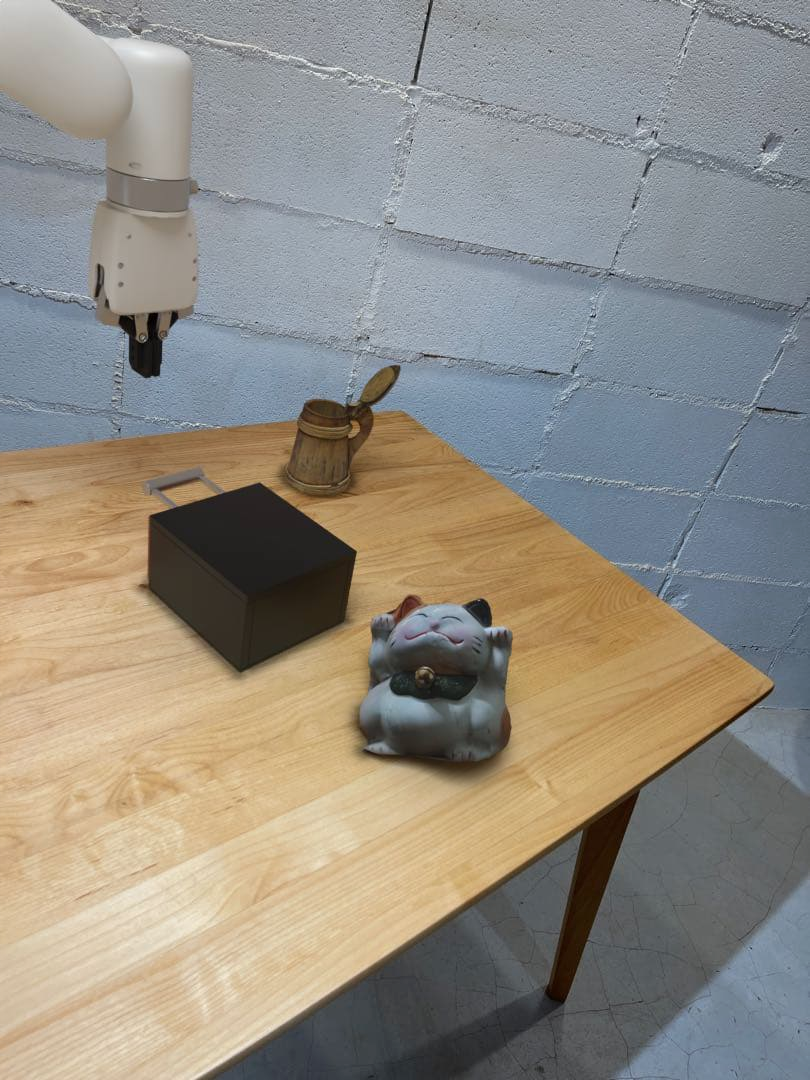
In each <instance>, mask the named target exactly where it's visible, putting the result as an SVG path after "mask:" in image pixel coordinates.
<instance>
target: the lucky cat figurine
mask: <svg viewBox="0 0 810 1080" xmlns="http://www.w3.org/2000/svg"><path fill="white" fill-rule="evenodd" d="M492 625H493V616H492V610H491V606H490V604H489V601H487V600H486V599H485V598H482V597H479V598H477V599H474V600H471V601H467V602H466V603H463V604H459V603H455V602H442V603H437V602H436V603H434V602H433V603H429V604H427V603H425V602H424V601H423V600H422V598H421V596H418V595H415V594H411V593H409V594H406V596H405V597H404V599H403V600H402V601H401V602H400V603H399V604H398V606H397V607H396V608H394V609H392V610H390V611H387V612H384V613H381V614H380V615H375V616H373V617H372V618H371V619H370V625H369V628H370V634H371V645H370V647H369V652H368V656H369V657H368V661H367V664H368V667H369V685H368V692H367V695H366V696H365V697H364V698H363V700H362V702H361V704H360V707H359V710H358V711H359V712H358V714H359V718H358V721H359V723H358V727H359V728H360V730H361V732H362V734H363V735H364V737H365V739H367V742H368V743H367V745H365V746H363V747H362V749H363V750H366V751H369V752H372V753H374V754H377V755H391V756H392V755H393V756H394V755H401V756H402V755H404V756H412V757H420V758H424V759H425V758H426V759H433V760H439V761H445V762H453V763H457V762H476V763H478V762H480V761H484V760H487V759H491V757H493V756H495V755H498V754H499V753H501V752H502V751H503V750H504V749H505V748H507V746H508V744H509V742H510V739H511V734H512V722H511V721H512V719H511V715H510V712H509V708H508V707H507V703H506V692H507V691H506V690H507V689H506V686H507V681H508V672H509V671H508V670H509V663H510V657H511V656H512V650H513V647H512V646H513V639H514V636H513V634H514V633H513V631H512V630H510V628H509V627H506V626H504V625H501V626H497V625H495V626H492Z"/></svg>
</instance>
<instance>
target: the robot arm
mask: <svg viewBox="0 0 810 1080" xmlns="http://www.w3.org/2000/svg"><path fill="white" fill-rule="evenodd" d="M194 72H195V71H194V65H193V61H192V59H191V58H190V56H189V55H188V53H186V52H185V51H183V50H182V49H180V48H177V47H175V46H172V45H169V44H165V43H160V42H156V41H151V40H145V39H140V38H134V37H133V38H132V37H118V38H112V37H108V36H103V35H100V34H95V32H93V31H92V30H91V29H89V28H88V27H86V26H85V25H84V24H83V23H81V22H80V21H78V20H77V19H76V18H75V17H73V16H72V15H71V14H70V13H68V12H67V11H65V10H64V9H62V8H61V7H60V6H59V5H57V4H56V3H55V2H53V1H52V0H0V92H1V93H3V94H4V95H6V96H8V97H9V98H11V99H12V100H14V101H15V102H17V103H19V105H22V106H23V107H25V108H26V109H28V110H29V111H31V112H32V113H34V114H36V115H37V116H38V117H40V118H42V119H43V120H45V121H46V122H48V123H49V124H51V125H53V127H55V128H57V129H58V130H60V132H63V133H65V134H67V135H68V136H70V137H72V138H76V139H79V140H83V141H85V140H86V141H98V140H103V139H105V184H106V185H105V187H106V188H105V191H106V193H105V194H106V195H105V199H106V200H98V201H97V204H96V207H95V213H94V217H93V222H92V228H91V234H90V235H91V236H90V245H89V258H88V295H89V297H90V299H92V300H93V301H94V302H96V308H95V312H94V319H95V320H96V321H97V322H99V323H100V324H102V325H104V326H110V327H117V328H118V327H119V328H120V329H122V331H123V332H124V333H125V334H126V335H127V336H128V363H129V366H130V369H131V370H132V371H133V372H135V373H137V374H138V375H139V376H141V377H142V378H144V379H150V378H152V377H154V378H157V377H160V376H161V365H162V363H163V343H164V341H165V340H166V339H167V338H168V337H169V334H170V333H169V332H170V329H172V327H173V326H174V325H175V323H176V322H177V321H178V320H182V319H184V318H187V317H189V316H190V317H191V315H193V314H194V312H195V310H194V309H195V308H194V304H195V303H196V301H197V298H198V292H199V291H198V290H199V246H198V245H199V244H198V236H197V235H198V234H197V227H196V221H195V220H196V219H195V215H194V211H193V210H192V209H191V208H190V207H189V205H190V198H191V197H190V196H191V195H196V194H198V192H199V183H198V181H197V180H196V179H191V153H192V151H191V150H192V126H193V107H194V106H193V105H194V82H195V80H194V79H195V78H194V77H195V73H194Z"/></svg>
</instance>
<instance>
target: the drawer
mask: <svg viewBox="0 0 810 1080" xmlns="http://www.w3.org/2000/svg"><path fill="white" fill-rule="evenodd" d="M196 483H201V484H203V485H204V486H205V487H206V488H207V489H209V490H210V491H212V492H213V493H214V494H216V495H219V494H222V493H225V492H226V490H223V488H221V487H220V486H218V484H216V483H215V482H213V480H210V478H208V477H206V475H205V472H204V470H203V469H202V467H200V466H197V467H194V468H190V469H186V470H181V471H178V472H175V473H171V474H167V475H163V476H159V477H156V478H151V479H148V480H144V481H143V482H142V483H141V490H142V492H143V493H144V496H147V497H149V496H153V497H154V498H155V499H157V501H159V502H161V503H162V504H163V505H164V506H166V508H167V509H168V510H169V509H172V508H175V507H179V505H178V504H177V503H176V502H174V501H173V500H172V499H171V498H169V497H168V496H167V495H166V494H164V493H163V492H167V491H168V492H169V491H170V490H174V489H179V488H182V487H185V486H189V485H193V484H196ZM147 520H148V521H147V522H148V523H147V524H148V525H147V527H148V528H147V572H146V573H147V576H146V577H147V580H149V543H150V515H148V519H147Z"/></svg>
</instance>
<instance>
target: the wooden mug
mask: <svg viewBox="0 0 810 1080" xmlns="http://www.w3.org/2000/svg"><path fill="white" fill-rule="evenodd" d="M401 371H402V367H401V365H400V364H392V365H388V366H384V367H383V368H380V369H379V370H378V371H377V372H376V373H374V375H373V376H372V377H371V378H370V379H368V381H367V383H366V384H365V386H364V387H363V389H362V391H361V395H360V397H359V398H358V399H357V401H356V402H347V403H346V404H345V406H344V405H343V404H341V403H339V402H338V401H335V400H332V399H326V398H312V399H309V400H307V401H305V402H304V403H303V405H302V410H301V412H300V413H299V415H298V417H297V421H296V426H297V431H296V436H295V439H294V443H293V447H292V450H291V455H290V459H289V461H288V462H287V464H286V465H285V470H284V473H283V478H284V481H285V482H286V483H287V485H288V486H290V487H291V488H292V489H295V490H297V491H299V492H301V493H305V494H308V495H313V496H315V495H316V496H331V495H335V494H340V493H342V492H344V491H346V490H347V488H348V487H349V485H350V483H351V472H350V466H351V464H352V461H353V458H354V457H355V455H356V454H357V453H358V452H359V450H360V449H361V448H362V446H363V445H364V444H365V443H366V441H367V440H368V438H369V437H370V435H371V433H372V430H373V428H374V420H375V419H374V412H373V410H372V407H373V406H375V405H377V404H378V403H379V402H381V401H382V400H383V399H384V398H385V397H387V396H388V394H389V393H390V392H391V391H392V389H393V388H394V386H395V385H396V383H397V382H398V380H399V377H400V374H401ZM352 422H357V423H358V425H359V426H358V427H359V430H358V432H357V433H356V434H355V435H354V436H352V437H349V435H350V433H351V432H352V430H353V429H354V425H353V423H352Z"/></svg>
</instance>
